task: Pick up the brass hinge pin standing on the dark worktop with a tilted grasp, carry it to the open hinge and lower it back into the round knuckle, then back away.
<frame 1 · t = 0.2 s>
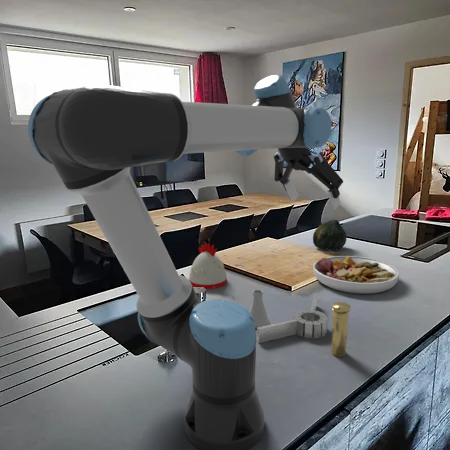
hand: (315, 202, 109), 35 cm above the counter, tool tilted 35°, fingers open, 13 cm apart
bowl: (354, 281, 148), on the counter
hinge pin: (338, 352, 100), on the counter
hinge: (309, 329, 112), on the counter
kitchen timer: (208, 282, 149), on the counter
flask: (257, 323, 116), on the counter
squash: (329, 249, 188), on the counter
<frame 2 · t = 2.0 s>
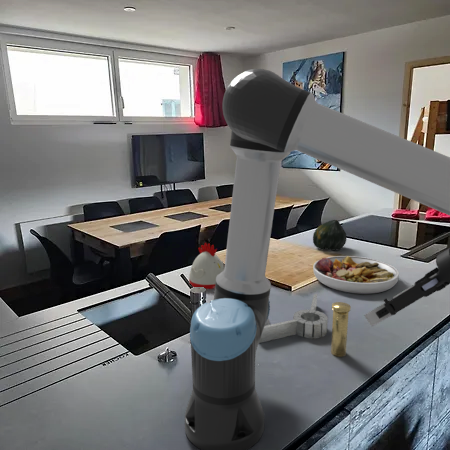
hand: (383, 310, 89), 15 cm above the counter, tool tilted 45°, fingers open, 13 cm apart
nothing on the counter moved.
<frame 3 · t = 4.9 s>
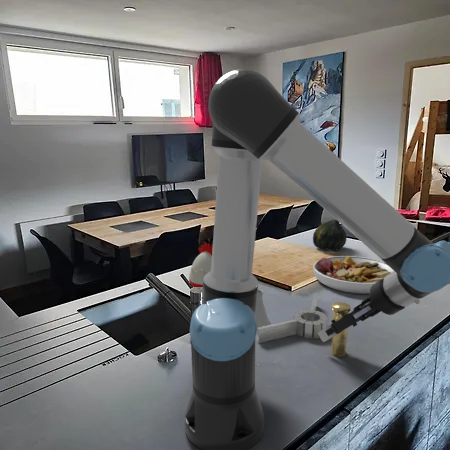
hand: (325, 334, 102), 4 cm above the counter, tool tilted 45°, fingers closed on hinge pin, 3 cm apart
hinge pin: (338, 352, 100), on the counter, touching gripper
everything else where it was.
when the fingers open (7 cm above the counter, at t = 9.5 s): hinge pin drops 3 cm, resting in hinge.
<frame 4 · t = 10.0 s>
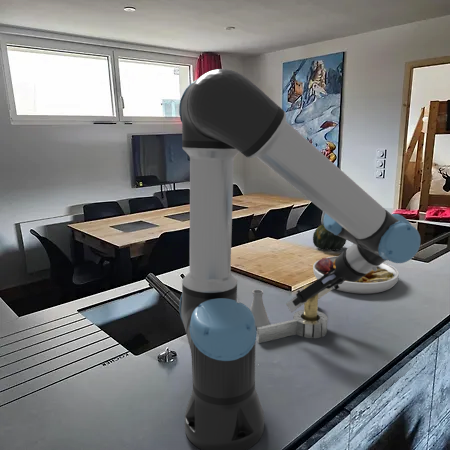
hand: (303, 301, 112), 8 cm above the counter, tool tilted 45°, fingers open, 11 cm apart
hinge pin: (310, 330, 112), resting in hinge
everything else where it was.
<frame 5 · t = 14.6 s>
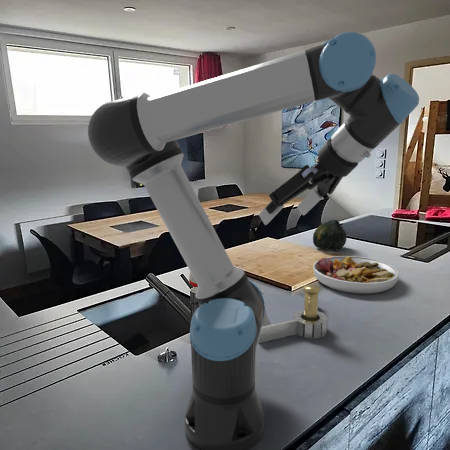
hand: (282, 215, 91), 36 cm above the counter, tool tilted 45°, fingers open, 13 cm apart
nothing on the counter moved.
at the end: hinge pin 0.1 cm off-centre on the hinge, point 0.0 cm above the hinge's base; hinge pin tilted 0°; the gripper is holding nothing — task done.
